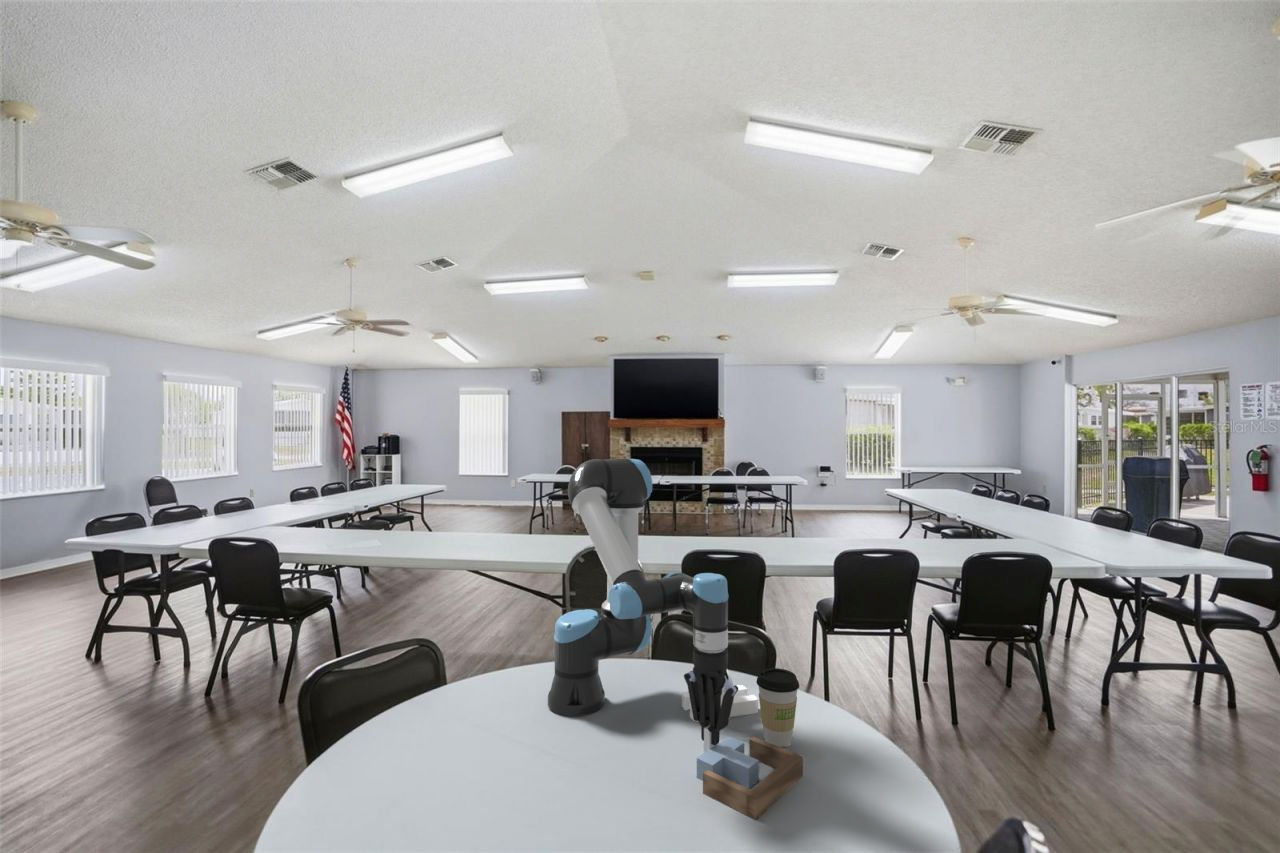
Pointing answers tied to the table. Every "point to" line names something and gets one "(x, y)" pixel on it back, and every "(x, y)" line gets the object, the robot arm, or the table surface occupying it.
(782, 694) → the coffee cup
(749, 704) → the white slotted block
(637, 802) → the table surface
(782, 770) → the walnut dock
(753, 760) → the t block
